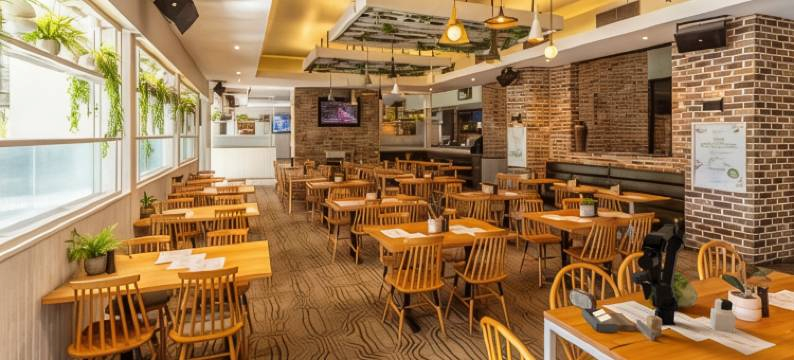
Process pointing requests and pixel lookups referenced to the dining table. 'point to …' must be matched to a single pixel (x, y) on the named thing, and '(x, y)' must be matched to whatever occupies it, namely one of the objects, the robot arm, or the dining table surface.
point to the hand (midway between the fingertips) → (651, 303)
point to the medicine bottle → (723, 316)
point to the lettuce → (682, 291)
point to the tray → (597, 326)
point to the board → (622, 322)
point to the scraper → (650, 327)
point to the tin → (582, 298)
